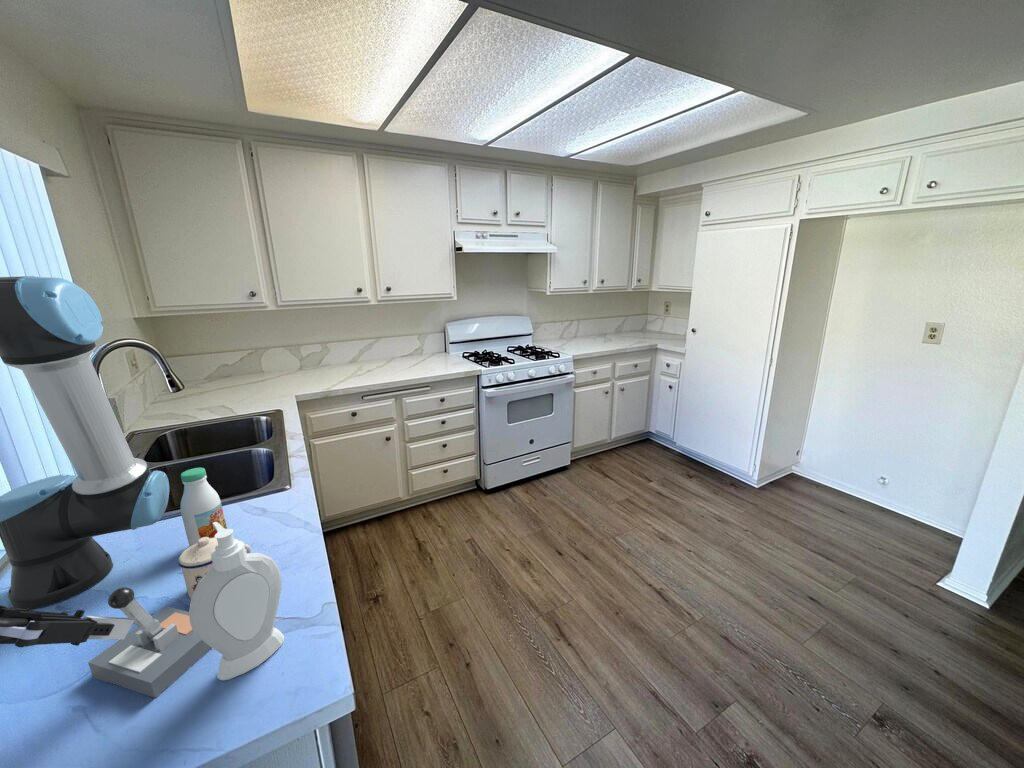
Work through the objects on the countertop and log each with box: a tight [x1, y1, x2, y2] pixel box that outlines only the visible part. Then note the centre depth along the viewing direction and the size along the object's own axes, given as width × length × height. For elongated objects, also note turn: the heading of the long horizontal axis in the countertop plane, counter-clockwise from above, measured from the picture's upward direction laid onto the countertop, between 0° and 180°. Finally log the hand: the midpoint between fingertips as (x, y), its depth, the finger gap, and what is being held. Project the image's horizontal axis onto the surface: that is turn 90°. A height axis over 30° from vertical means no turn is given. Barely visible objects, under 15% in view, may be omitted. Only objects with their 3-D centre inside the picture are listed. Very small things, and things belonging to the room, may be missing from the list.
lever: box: [107, 586, 164, 642], centre depth 66 cm, size 3×3×13 cm
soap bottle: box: [188, 522, 285, 681], centre depth 67 cm, size 13×8×24 cm, turn 140°
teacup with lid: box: [177, 537, 252, 600], centre depth 85 cm, size 12×9×12 cm
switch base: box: [87, 606, 213, 699], centre depth 70 cm, size 12×14×5 cm
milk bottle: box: [180, 467, 228, 548], centre depth 97 cm, size 8×8×20 cm
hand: (126, 628), depth 64 cm, fingers closed
